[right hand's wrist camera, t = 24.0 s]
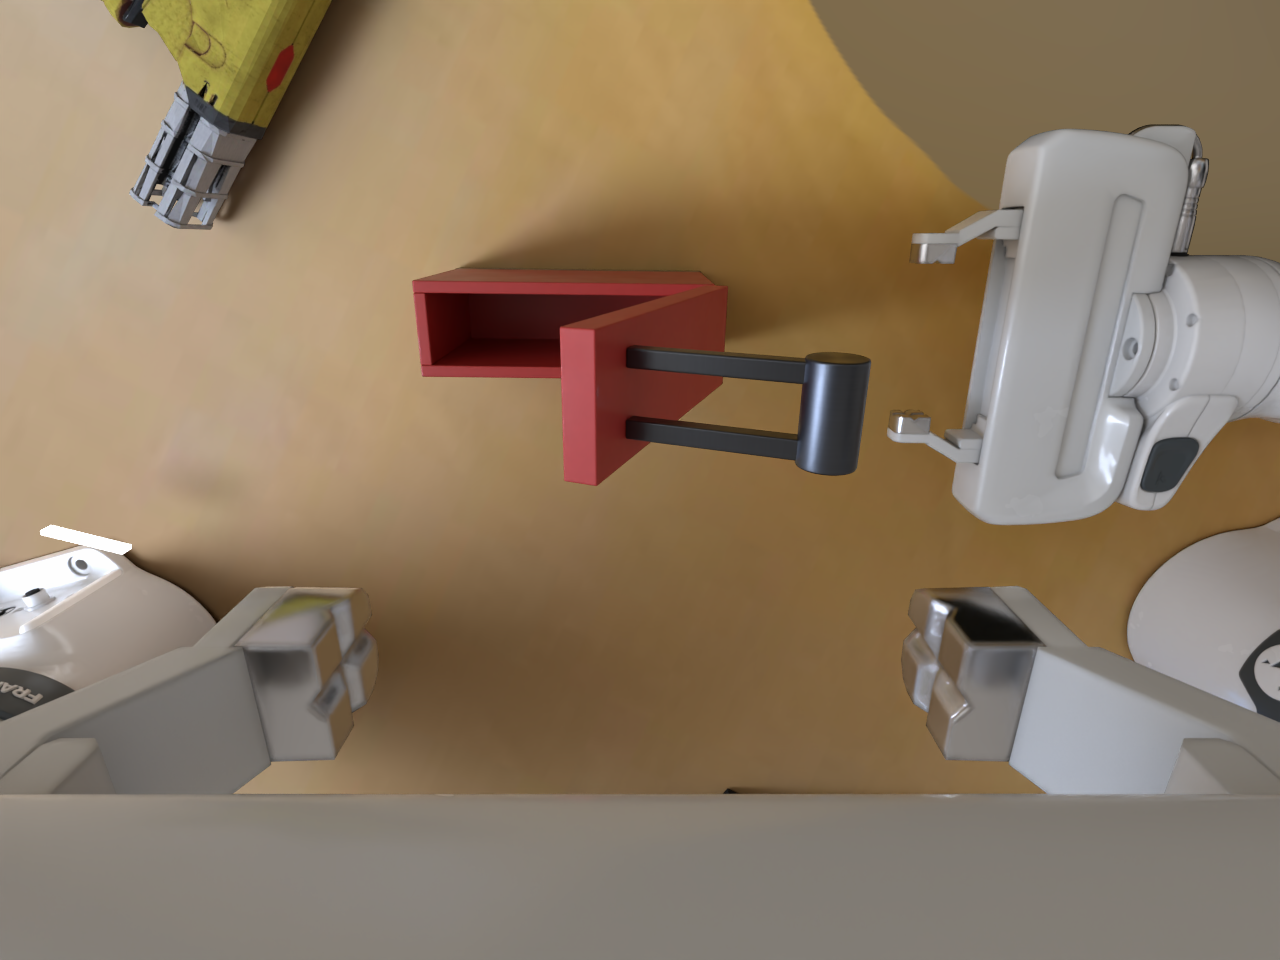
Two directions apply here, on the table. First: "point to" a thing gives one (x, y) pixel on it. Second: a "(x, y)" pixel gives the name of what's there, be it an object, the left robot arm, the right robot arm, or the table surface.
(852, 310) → the table surface
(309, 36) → the toy gun
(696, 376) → the lid
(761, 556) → the table surface
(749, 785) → the table surface
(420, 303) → the chest
